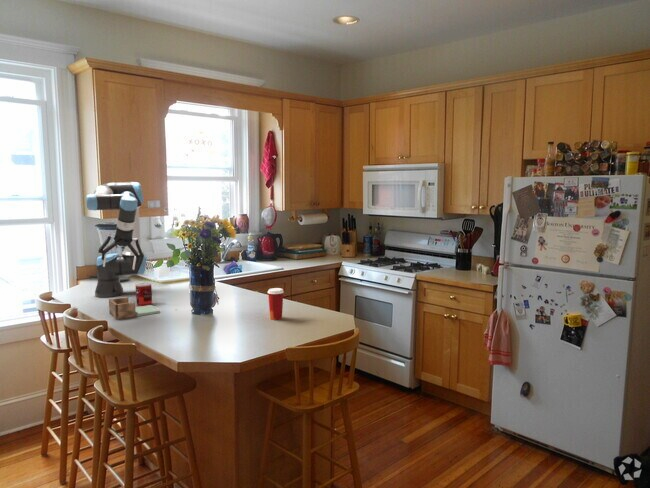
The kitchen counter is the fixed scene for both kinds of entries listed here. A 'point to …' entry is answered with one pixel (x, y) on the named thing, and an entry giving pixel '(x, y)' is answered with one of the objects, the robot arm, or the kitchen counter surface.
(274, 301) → the paper cup
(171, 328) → the kitchen counter surface
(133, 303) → the crate
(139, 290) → the canned food
